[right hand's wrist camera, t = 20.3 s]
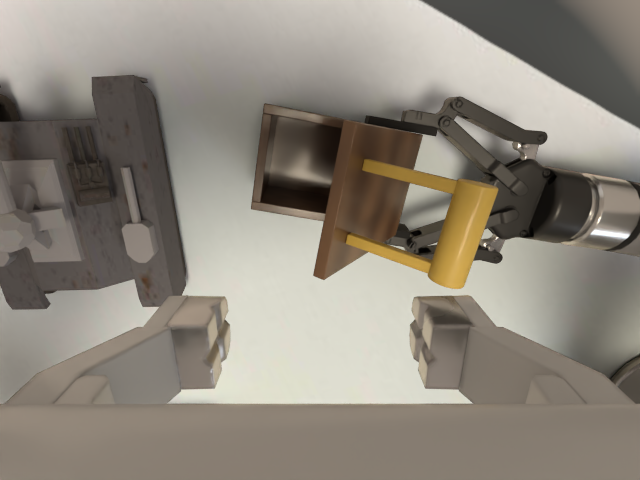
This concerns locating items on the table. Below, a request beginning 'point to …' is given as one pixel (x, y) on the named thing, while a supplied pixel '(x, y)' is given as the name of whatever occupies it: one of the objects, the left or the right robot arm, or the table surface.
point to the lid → (395, 206)
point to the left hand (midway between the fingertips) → (356, 173)
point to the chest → (296, 162)
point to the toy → (88, 201)
